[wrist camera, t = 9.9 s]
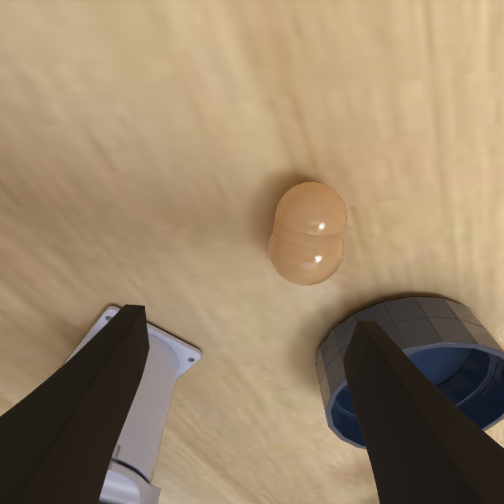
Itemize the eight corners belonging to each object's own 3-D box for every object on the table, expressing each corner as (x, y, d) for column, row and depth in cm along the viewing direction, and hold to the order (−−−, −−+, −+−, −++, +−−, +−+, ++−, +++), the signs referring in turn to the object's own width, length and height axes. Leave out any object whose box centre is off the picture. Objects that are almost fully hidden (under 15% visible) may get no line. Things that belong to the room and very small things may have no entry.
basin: (380, 415, 30) (399, 468, 26) (282, 359, 25) (287, 413, 22) (512, 346, 24) (559, 400, 21) (417, 260, 20) (455, 309, 16)
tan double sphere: (317, 256, 20) (347, 297, 17) (257, 260, 19) (276, 304, 16) (337, 171, 17) (378, 202, 14) (267, 171, 16) (293, 203, 13)
